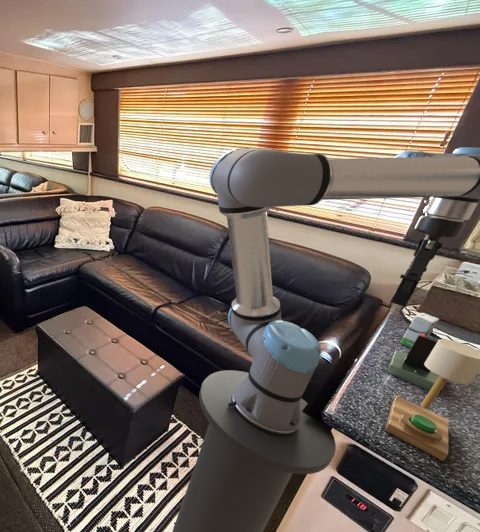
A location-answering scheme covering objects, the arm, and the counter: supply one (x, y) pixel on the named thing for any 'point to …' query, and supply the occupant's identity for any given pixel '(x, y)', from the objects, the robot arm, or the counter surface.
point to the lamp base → (408, 432)
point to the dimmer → (411, 372)
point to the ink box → (419, 328)
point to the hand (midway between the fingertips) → (400, 297)
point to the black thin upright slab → (420, 351)
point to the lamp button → (423, 423)
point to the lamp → (451, 366)
